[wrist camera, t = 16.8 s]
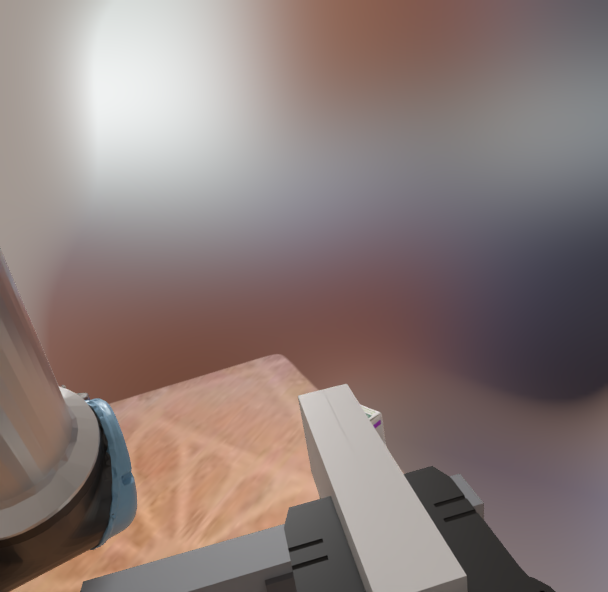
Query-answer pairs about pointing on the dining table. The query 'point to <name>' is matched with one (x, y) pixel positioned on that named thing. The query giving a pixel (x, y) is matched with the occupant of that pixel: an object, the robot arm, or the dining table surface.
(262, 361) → the dining table surface
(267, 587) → the light board
